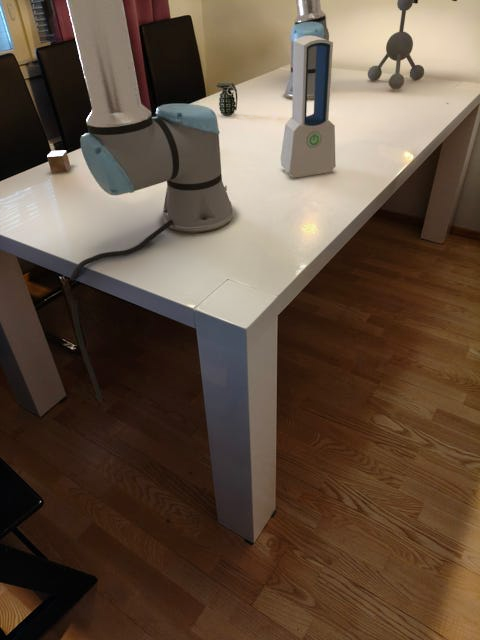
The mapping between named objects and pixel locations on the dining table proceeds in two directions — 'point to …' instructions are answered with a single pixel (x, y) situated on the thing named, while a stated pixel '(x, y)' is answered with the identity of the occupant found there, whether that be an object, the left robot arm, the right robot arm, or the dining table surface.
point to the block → (58, 161)
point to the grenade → (227, 99)
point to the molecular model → (398, 53)
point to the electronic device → (315, 130)
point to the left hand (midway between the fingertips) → (23, 35)
